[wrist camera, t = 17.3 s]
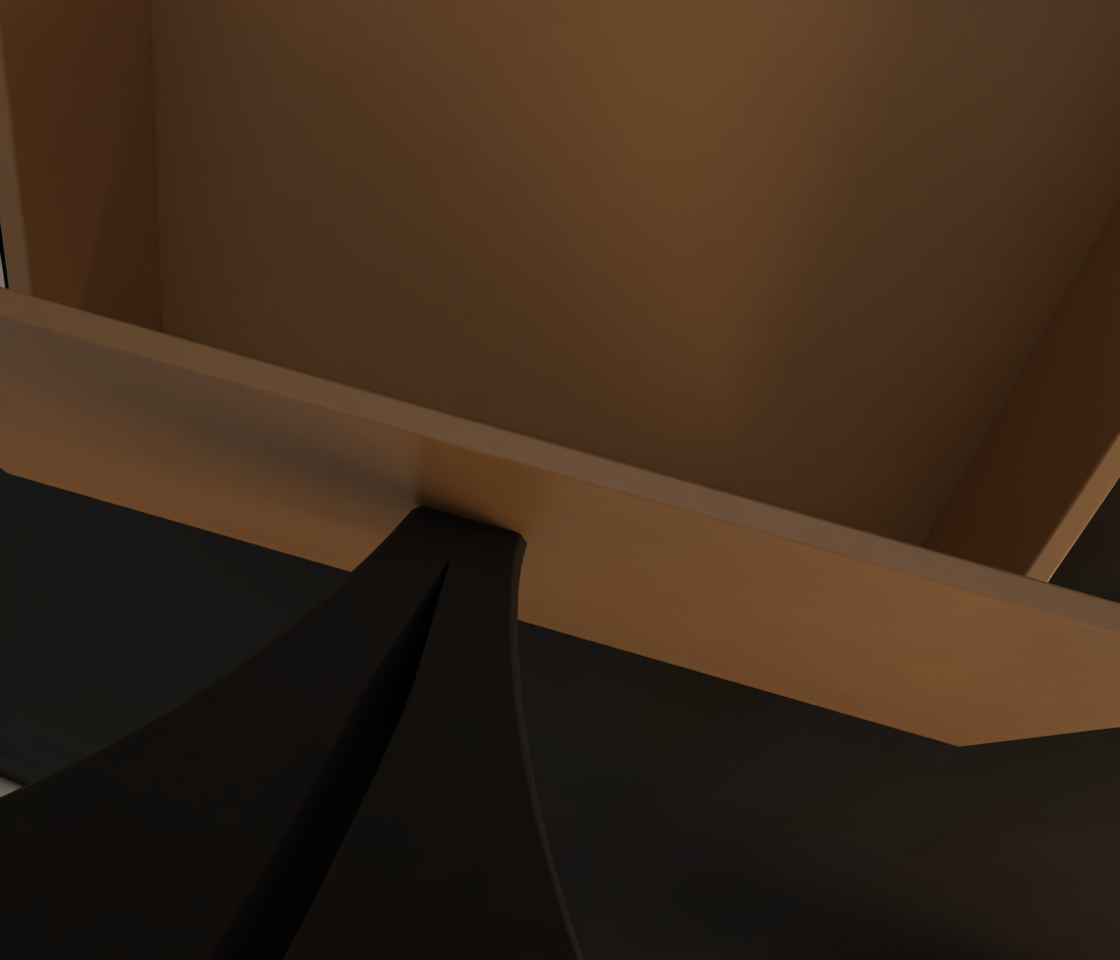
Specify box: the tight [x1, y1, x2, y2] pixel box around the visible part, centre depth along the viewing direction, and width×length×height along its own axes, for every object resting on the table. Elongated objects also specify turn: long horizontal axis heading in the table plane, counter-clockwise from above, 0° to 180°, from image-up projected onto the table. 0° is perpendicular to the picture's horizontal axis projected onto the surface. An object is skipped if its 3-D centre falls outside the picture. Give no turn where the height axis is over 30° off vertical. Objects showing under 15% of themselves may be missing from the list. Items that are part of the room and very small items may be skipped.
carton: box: [0, 0, 1120, 583], centre depth 15 cm, size 17×17×4 cm
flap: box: [0, 287, 1120, 746], centre depth 13 cm, size 8×17×1 cm
